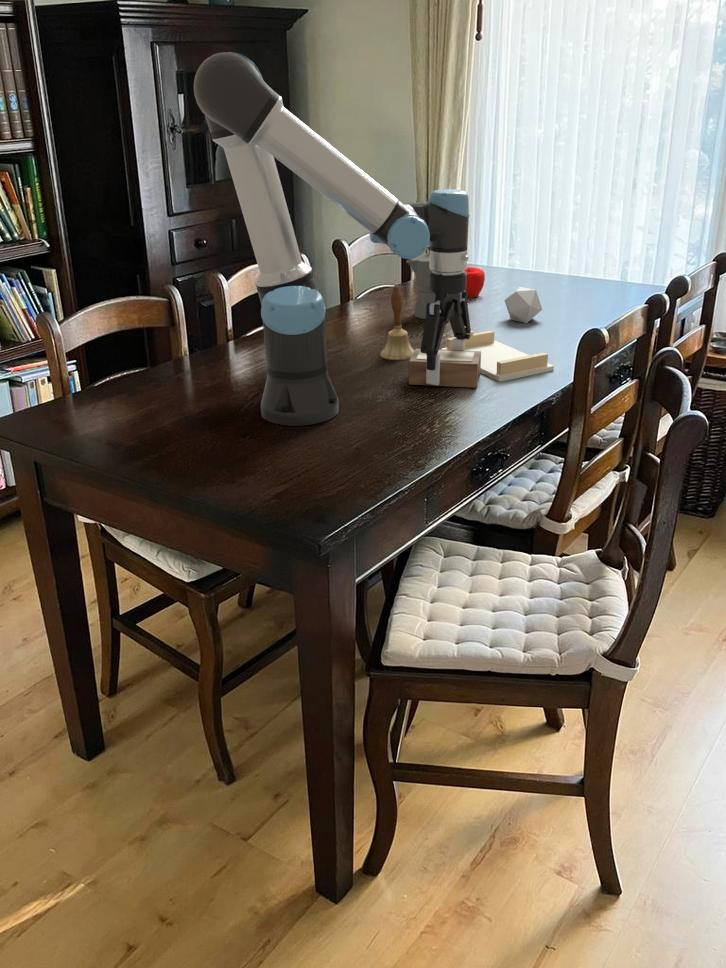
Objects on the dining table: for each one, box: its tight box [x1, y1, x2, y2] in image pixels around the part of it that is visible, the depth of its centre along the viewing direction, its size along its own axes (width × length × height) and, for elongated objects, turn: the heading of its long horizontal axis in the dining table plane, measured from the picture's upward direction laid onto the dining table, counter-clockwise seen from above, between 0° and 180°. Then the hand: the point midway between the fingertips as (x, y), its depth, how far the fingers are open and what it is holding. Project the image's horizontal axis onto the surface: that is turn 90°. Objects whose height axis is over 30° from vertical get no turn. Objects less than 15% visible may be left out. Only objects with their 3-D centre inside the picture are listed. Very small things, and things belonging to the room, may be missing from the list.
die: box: [504, 286, 543, 324], centre depth 229 cm, size 8×9×10 cm
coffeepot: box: [406, 245, 435, 320], centre depth 235 cm, size 15×9×18 cm, turn 103°
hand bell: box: [379, 285, 415, 361], centre depth 204 cm, size 8×8×16 cm
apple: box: [465, 266, 486, 299], centre depth 253 cm, size 9×9×8 cm
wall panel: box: [440, 330, 555, 382], centre depth 200 cm, size 14×24×4 cm, turn 26°
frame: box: [408, 348, 481, 389], centre depth 188 cm, size 9×14×5 cm, turn 78°
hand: (445, 376), depth 189 cm, fingers closed on frame, 11 cm apart
